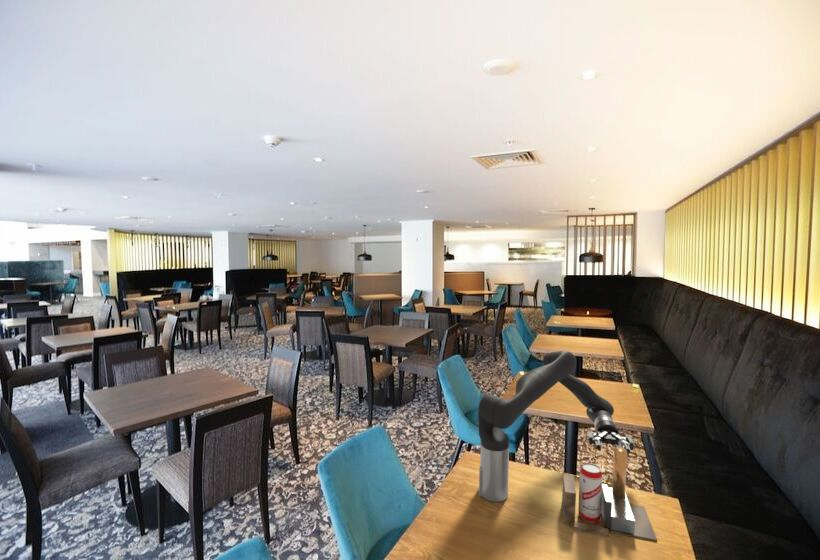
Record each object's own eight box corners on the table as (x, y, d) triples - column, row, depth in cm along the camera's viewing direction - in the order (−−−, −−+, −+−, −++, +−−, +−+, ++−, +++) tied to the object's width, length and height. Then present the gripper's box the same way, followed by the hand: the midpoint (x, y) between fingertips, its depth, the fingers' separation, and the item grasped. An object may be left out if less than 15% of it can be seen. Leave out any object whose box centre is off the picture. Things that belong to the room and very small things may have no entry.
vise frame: (564, 527, 118) (565, 495, 117) (561, 493, 134) (562, 464, 133) (659, 546, 110) (661, 512, 109) (643, 507, 127) (645, 477, 126)
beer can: (602, 525, 119) (605, 474, 117) (580, 523, 120) (582, 472, 118) (597, 511, 125) (599, 463, 123) (576, 509, 126) (578, 461, 124)
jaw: (604, 528, 116) (607, 469, 115) (597, 496, 131) (600, 444, 129) (634, 534, 114) (637, 474, 112) (623, 501, 128) (626, 448, 126)
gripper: (586, 416, 153) (591, 436, 138) (627, 421, 149) (637, 442, 134) (585, 435, 154) (590, 457, 139) (626, 441, 150) (636, 464, 134)
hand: (613, 450), depth 136 cm, fingers open, 8 cm apart
